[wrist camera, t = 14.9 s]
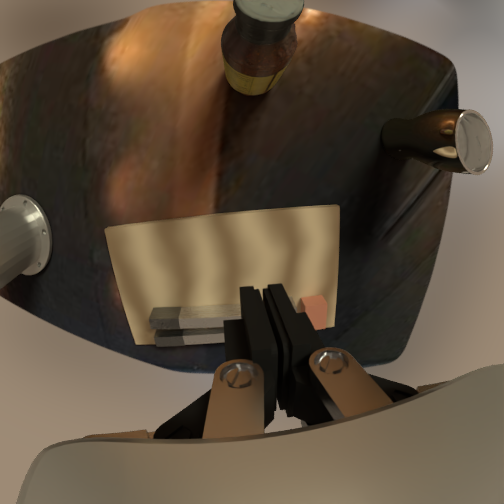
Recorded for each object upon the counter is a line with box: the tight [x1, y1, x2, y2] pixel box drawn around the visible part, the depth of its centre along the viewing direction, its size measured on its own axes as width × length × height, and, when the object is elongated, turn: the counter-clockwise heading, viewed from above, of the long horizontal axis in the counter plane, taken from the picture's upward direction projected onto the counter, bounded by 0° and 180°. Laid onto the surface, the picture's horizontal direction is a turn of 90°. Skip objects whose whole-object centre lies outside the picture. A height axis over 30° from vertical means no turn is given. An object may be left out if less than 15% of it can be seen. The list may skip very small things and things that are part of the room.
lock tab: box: [301, 295, 327, 330], centre depth 38 cm, size 3×4×2 cm
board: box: [105, 205, 340, 345], centre depth 37 cm, size 30×18×1 cm, turn 94°
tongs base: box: [154, 296, 297, 347], centre depth 37 cm, size 19×5×4 cm, turn 94°
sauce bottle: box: [221, 0, 304, 96], centre depth 20 cm, size 7×6×20 cm
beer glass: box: [381, 109, 493, 175], centre depth 26 cm, size 7×7×15 cm
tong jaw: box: [149, 304, 241, 329], centre depth 36 cm, size 15×2×3 cm, turn 92°
